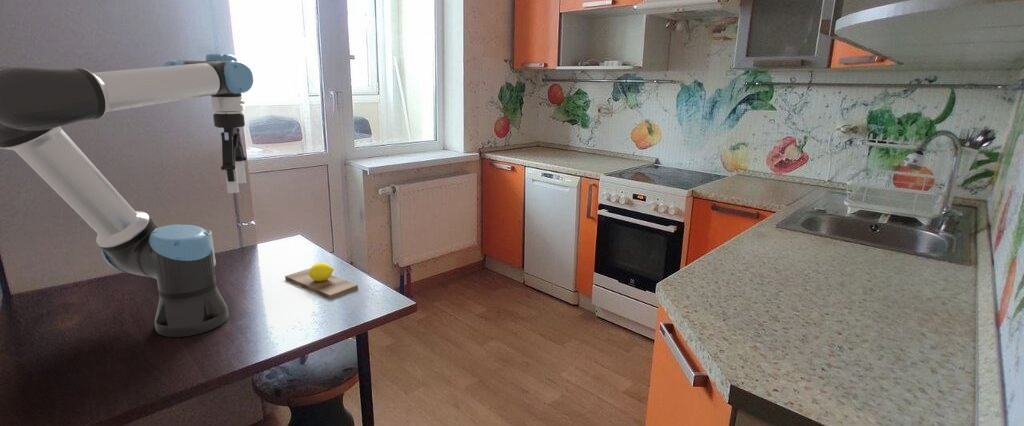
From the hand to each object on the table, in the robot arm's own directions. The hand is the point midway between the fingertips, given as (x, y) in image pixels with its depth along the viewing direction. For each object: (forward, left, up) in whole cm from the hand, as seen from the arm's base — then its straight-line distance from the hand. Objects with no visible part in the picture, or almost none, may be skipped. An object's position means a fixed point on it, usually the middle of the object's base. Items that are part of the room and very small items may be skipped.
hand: (237, 187), depth 147 cm
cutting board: (-14, -21, -27) cm, 37 cm away
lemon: (-14, -21, -26) cm, 36 cm away
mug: (+12, +16, -27) cm, 34 cm away
